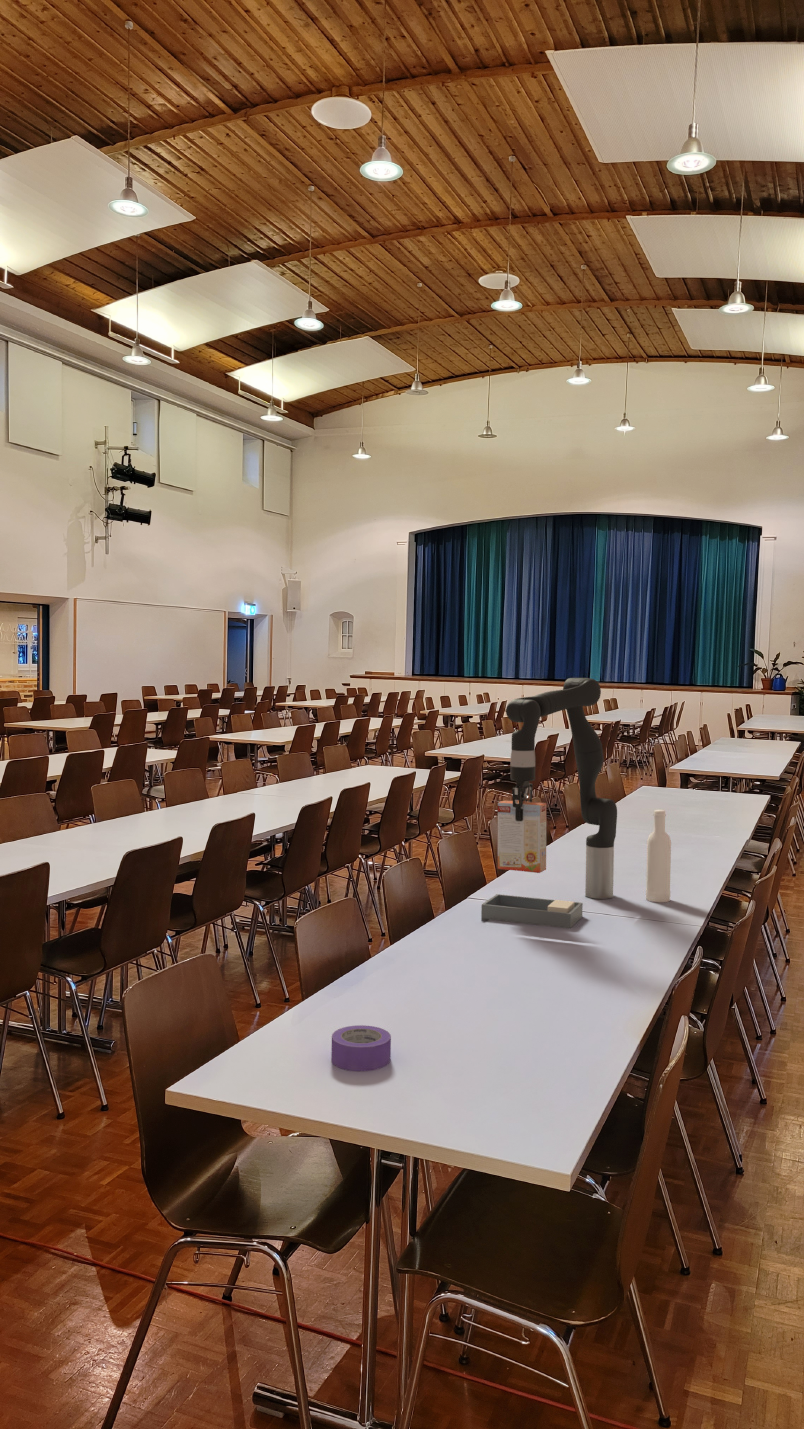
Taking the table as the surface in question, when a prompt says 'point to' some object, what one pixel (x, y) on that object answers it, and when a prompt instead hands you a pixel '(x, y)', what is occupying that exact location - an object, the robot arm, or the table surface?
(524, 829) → the cracker box
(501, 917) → the tote
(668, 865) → the bottle
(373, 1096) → the table surface
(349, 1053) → the tape roll
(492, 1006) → the table surface
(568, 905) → the beige block
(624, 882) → the table surface
